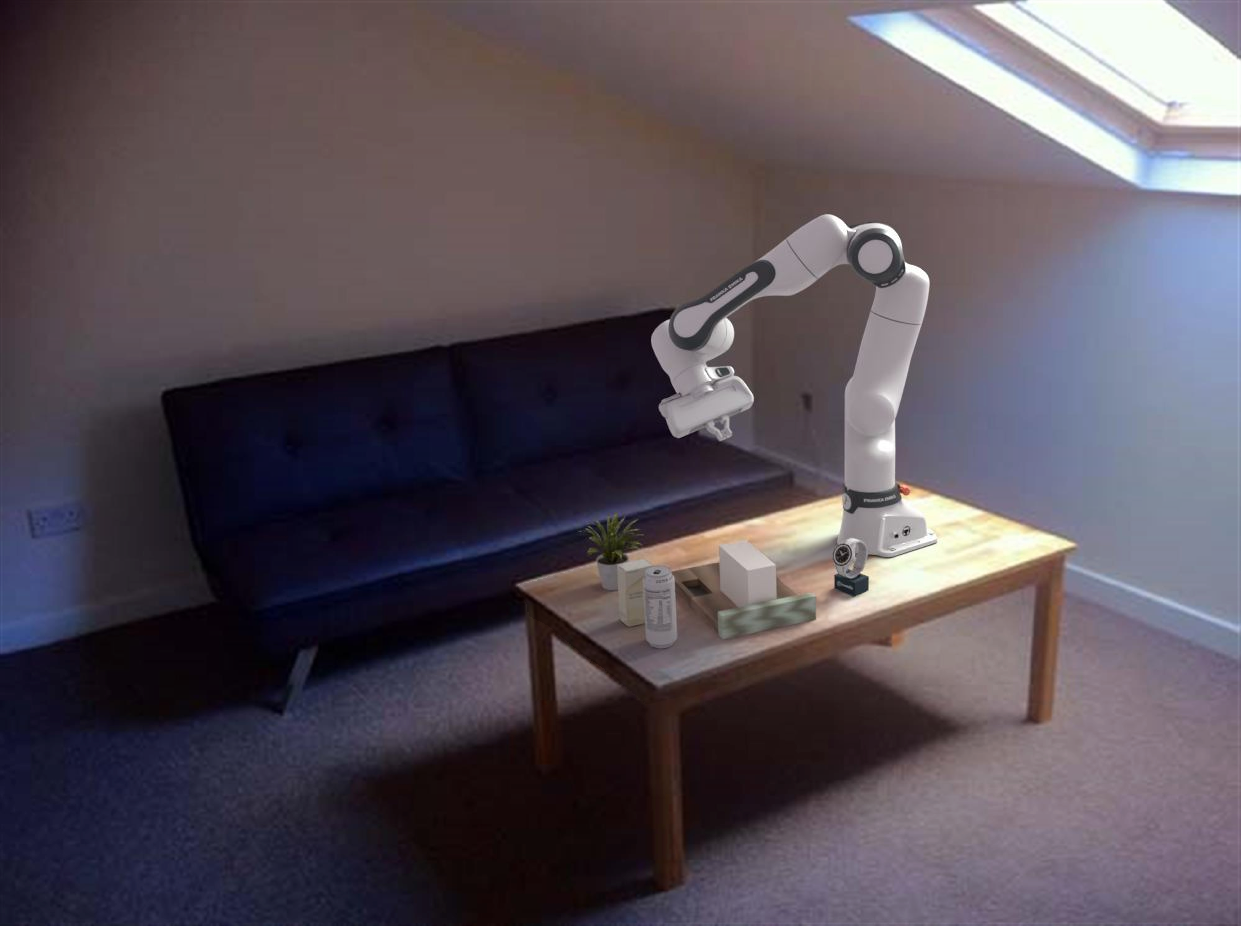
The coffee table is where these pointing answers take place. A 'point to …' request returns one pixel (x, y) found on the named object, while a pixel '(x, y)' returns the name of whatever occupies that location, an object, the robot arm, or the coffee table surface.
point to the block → (746, 574)
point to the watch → (847, 578)
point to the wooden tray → (735, 621)
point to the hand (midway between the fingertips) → (726, 437)
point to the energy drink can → (659, 606)
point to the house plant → (611, 550)
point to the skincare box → (632, 591)
